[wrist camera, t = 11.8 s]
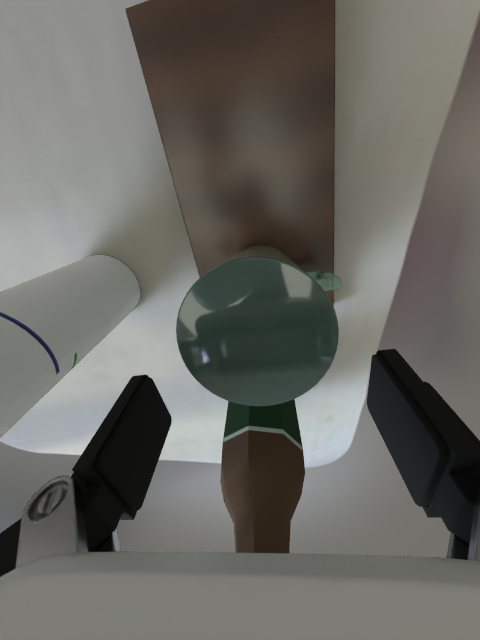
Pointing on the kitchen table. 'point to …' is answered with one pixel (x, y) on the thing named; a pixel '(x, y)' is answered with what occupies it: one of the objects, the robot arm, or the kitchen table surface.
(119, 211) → the kitchen table surface
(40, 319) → the cylindrical container
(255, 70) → the serving board
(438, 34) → the kitchen table surface
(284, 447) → the beer bottle
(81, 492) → the robot arm
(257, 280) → the jug
